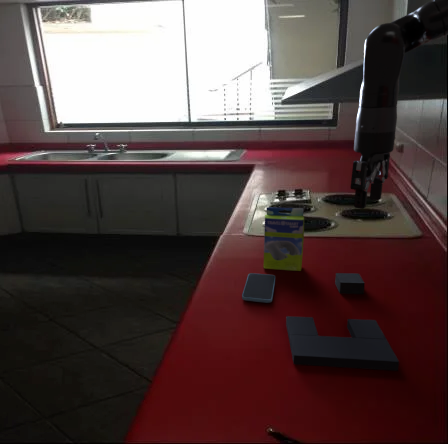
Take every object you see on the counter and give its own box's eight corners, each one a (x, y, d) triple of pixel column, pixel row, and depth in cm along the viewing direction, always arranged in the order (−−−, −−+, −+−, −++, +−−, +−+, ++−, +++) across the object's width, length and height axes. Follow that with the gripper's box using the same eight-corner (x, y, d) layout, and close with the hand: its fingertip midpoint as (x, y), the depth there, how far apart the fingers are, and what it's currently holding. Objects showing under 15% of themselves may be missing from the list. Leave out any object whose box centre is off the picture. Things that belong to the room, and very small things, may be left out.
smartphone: (275, 275, 112) (272, 300, 99) (275, 278, 113) (271, 304, 99) (248, 272, 115) (241, 297, 101) (248, 276, 115) (241, 301, 101)
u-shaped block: (374, 328, 88) (375, 319, 87) (398, 371, 75) (399, 361, 74) (285, 324, 91) (286, 316, 91) (293, 364, 78) (294, 355, 78)
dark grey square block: (357, 284, 107) (358, 273, 106) (363, 294, 102) (364, 283, 101) (335, 283, 108) (335, 272, 107) (339, 293, 103) (340, 282, 102)
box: (263, 269, 119) (264, 211, 113) (264, 263, 122) (265, 206, 117) (302, 272, 115) (305, 212, 110) (302, 266, 119) (304, 207, 114)
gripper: (381, 133, 80) (372, 214, 85) (406, 126, 89) (397, 199, 94) (342, 132, 85) (336, 208, 90) (370, 125, 94) (363, 194, 99)
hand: (367, 203), depth 92 cm, fingers open, 8 cm apart
